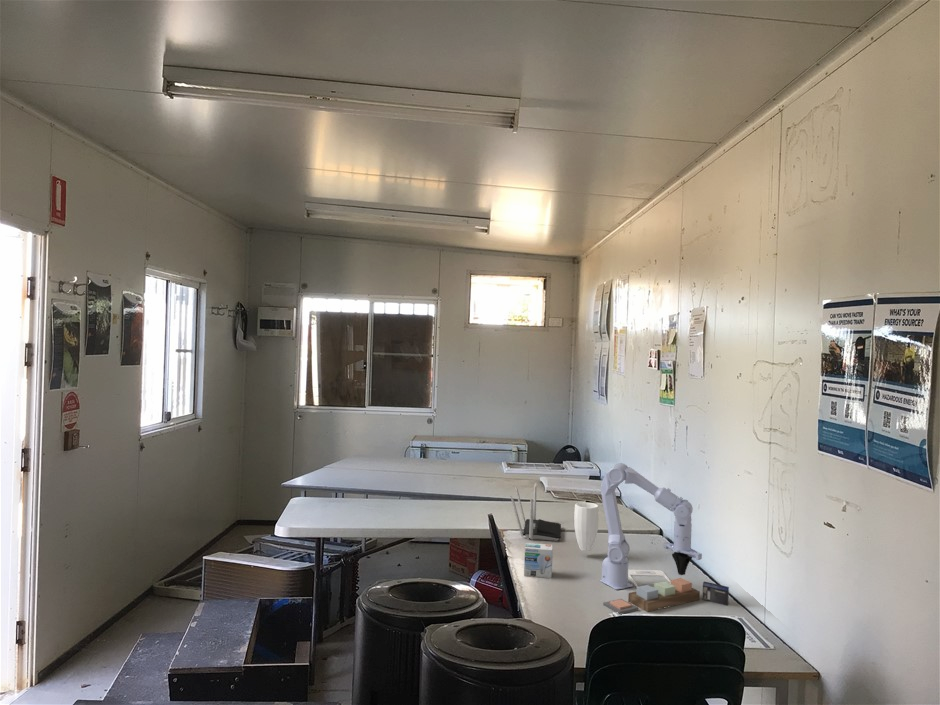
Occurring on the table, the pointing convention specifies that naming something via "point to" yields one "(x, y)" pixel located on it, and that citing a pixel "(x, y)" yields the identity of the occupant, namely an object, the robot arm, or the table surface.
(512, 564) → the table surface
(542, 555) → the light bulb box
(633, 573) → the photo frame
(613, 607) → the tile
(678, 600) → the wooden block tray
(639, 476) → the robot arm
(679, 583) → the block terracotta
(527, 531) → the wireless router
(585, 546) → the cup
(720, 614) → the table surface
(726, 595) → the mini dv tape
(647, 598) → the block slate
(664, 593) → the block sage
